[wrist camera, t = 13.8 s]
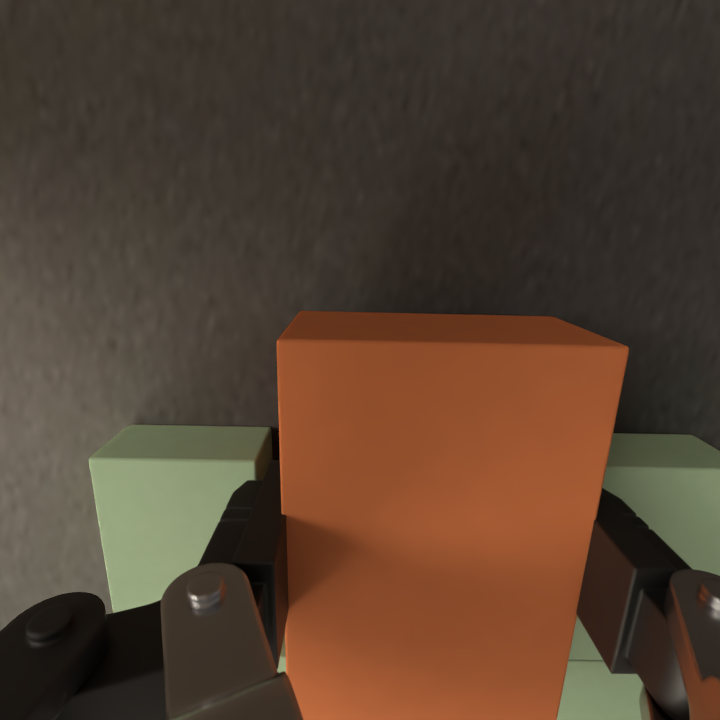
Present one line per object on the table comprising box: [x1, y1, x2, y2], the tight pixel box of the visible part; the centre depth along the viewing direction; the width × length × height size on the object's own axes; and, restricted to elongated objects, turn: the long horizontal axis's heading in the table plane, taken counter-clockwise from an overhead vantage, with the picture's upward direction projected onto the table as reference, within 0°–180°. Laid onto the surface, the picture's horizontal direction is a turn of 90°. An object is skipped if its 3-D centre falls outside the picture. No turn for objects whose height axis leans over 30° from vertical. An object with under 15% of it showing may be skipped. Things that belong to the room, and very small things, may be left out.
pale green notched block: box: [89, 425, 720, 720], centre depth 13 cm, size 16×14×2 cm
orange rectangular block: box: [276, 311, 629, 720], centre depth 10 cm, size 6×9×3 cm, turn 179°
